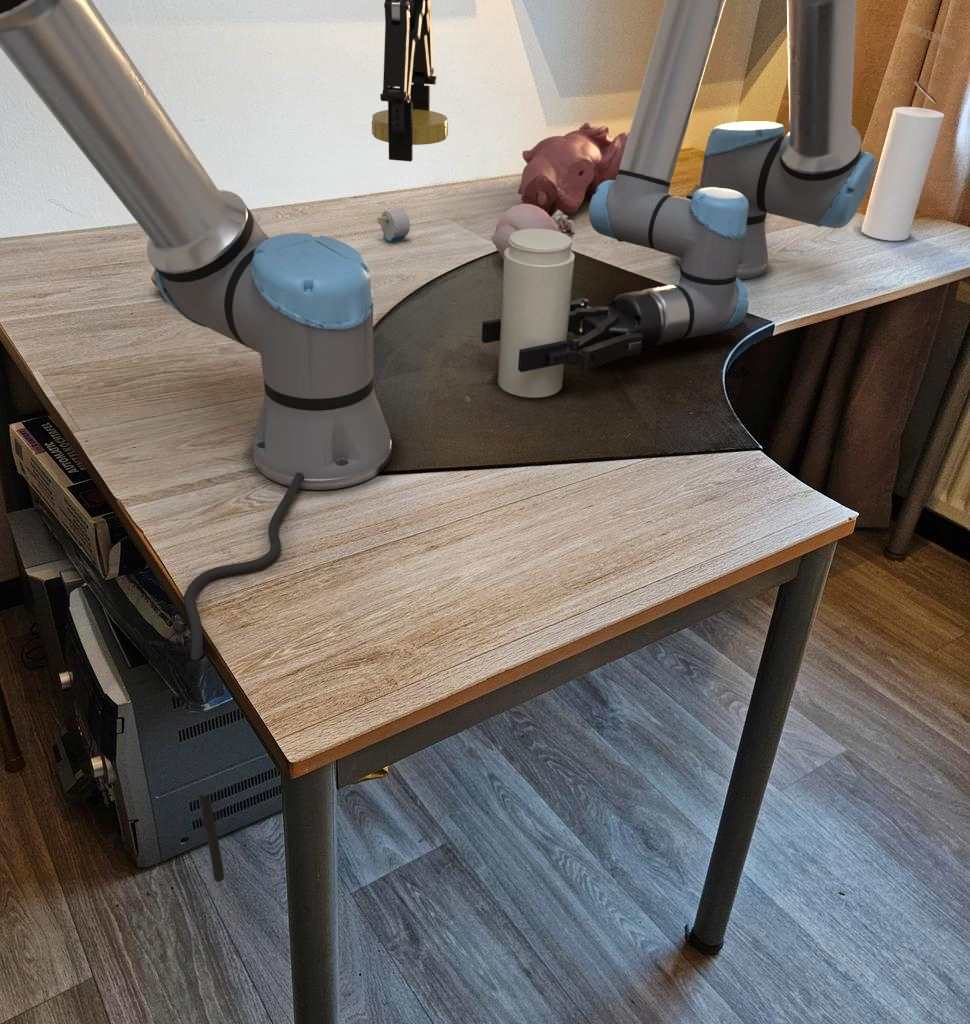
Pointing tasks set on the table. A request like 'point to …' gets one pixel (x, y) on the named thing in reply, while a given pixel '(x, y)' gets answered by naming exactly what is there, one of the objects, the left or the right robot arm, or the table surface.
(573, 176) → the reddish pink figurine
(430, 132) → the lid
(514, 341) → the jar
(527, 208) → the toy
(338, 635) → the table surface
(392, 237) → the electric motor
